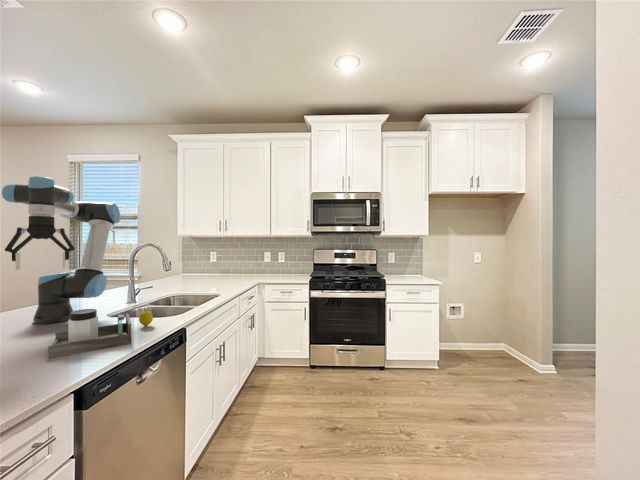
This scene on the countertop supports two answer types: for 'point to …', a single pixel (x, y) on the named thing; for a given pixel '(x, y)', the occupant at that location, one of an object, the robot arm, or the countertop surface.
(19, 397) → the countertop surface
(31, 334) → the countertop surface
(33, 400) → the countertop surface
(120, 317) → the panel
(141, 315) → the fruit
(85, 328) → the jar
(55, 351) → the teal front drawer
